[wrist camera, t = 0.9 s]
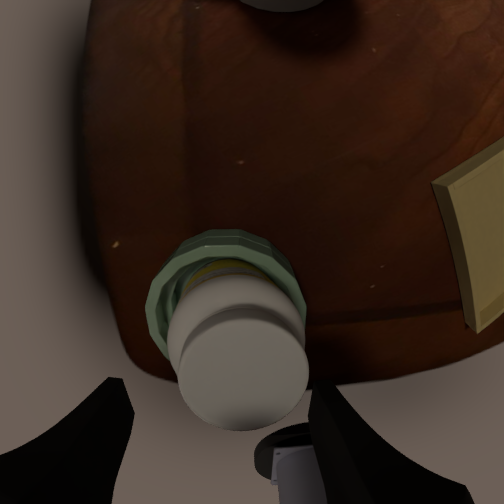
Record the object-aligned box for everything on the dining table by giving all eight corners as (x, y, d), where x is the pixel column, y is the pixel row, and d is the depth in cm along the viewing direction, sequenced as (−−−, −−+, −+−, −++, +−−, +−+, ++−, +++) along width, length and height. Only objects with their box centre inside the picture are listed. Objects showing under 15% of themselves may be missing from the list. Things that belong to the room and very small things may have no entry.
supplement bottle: (272, 342, 19) (320, 440, 9) (185, 343, 18) (162, 447, 8) (275, 255, 18) (338, 292, 8) (182, 255, 18) (142, 294, 8)
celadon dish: (292, 347, 21) (299, 379, 17) (170, 347, 21) (159, 379, 17) (298, 226, 18) (311, 244, 15) (154, 228, 18) (135, 246, 14)
